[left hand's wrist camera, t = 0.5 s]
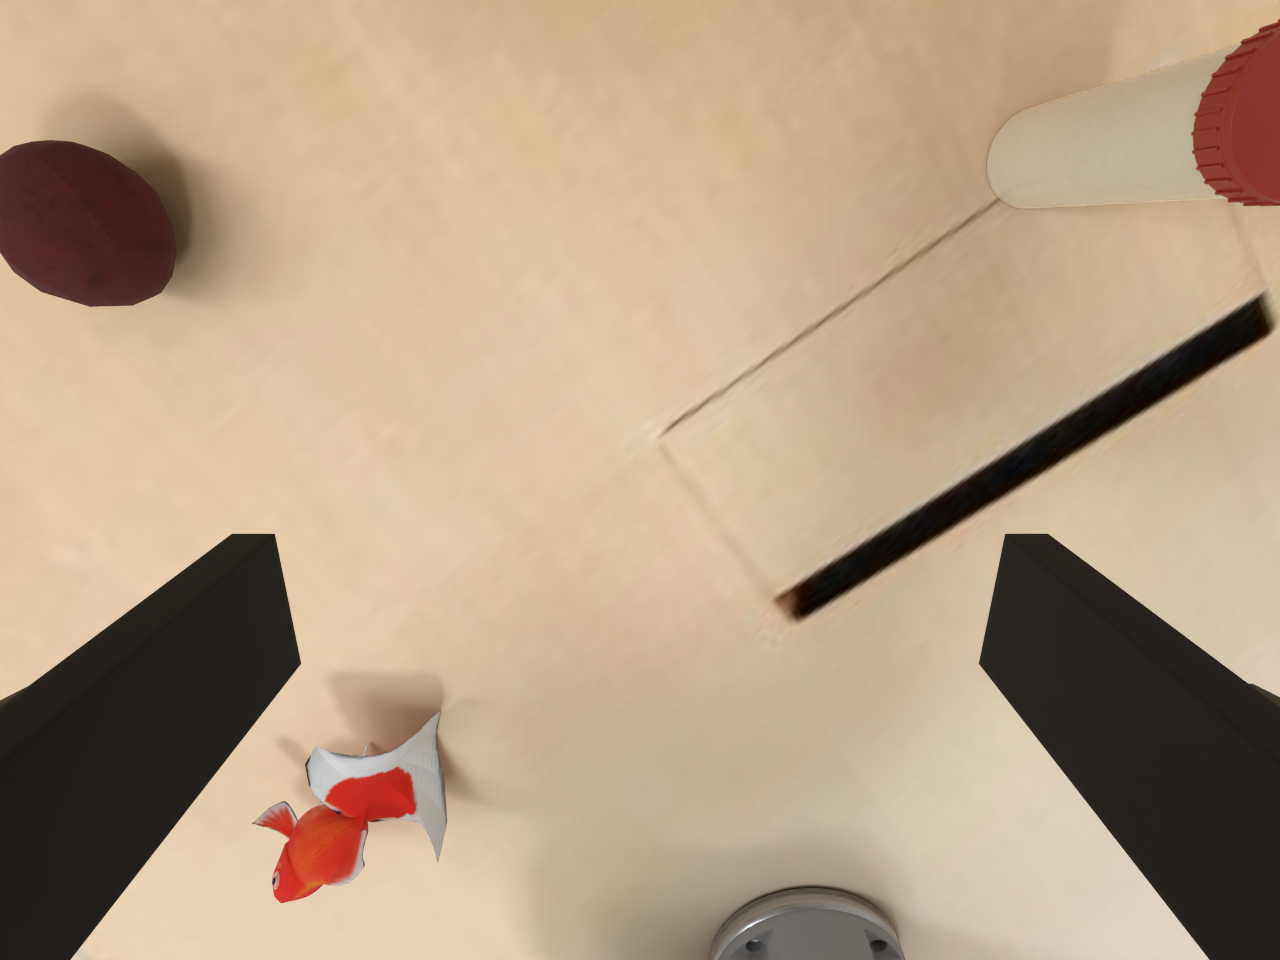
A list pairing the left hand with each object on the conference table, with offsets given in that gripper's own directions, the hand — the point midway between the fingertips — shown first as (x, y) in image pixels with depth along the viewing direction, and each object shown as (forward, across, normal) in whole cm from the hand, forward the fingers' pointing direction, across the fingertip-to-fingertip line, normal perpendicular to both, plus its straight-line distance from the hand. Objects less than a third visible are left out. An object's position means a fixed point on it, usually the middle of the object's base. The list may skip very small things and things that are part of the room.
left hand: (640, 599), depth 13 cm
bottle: (+28, -20, -10) cm, 36 cm away
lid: (+12, -20, -10) cm, 26 cm away
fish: (+28, +19, +29) cm, 45 cm away
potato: (+28, +27, -6) cm, 39 cm away
